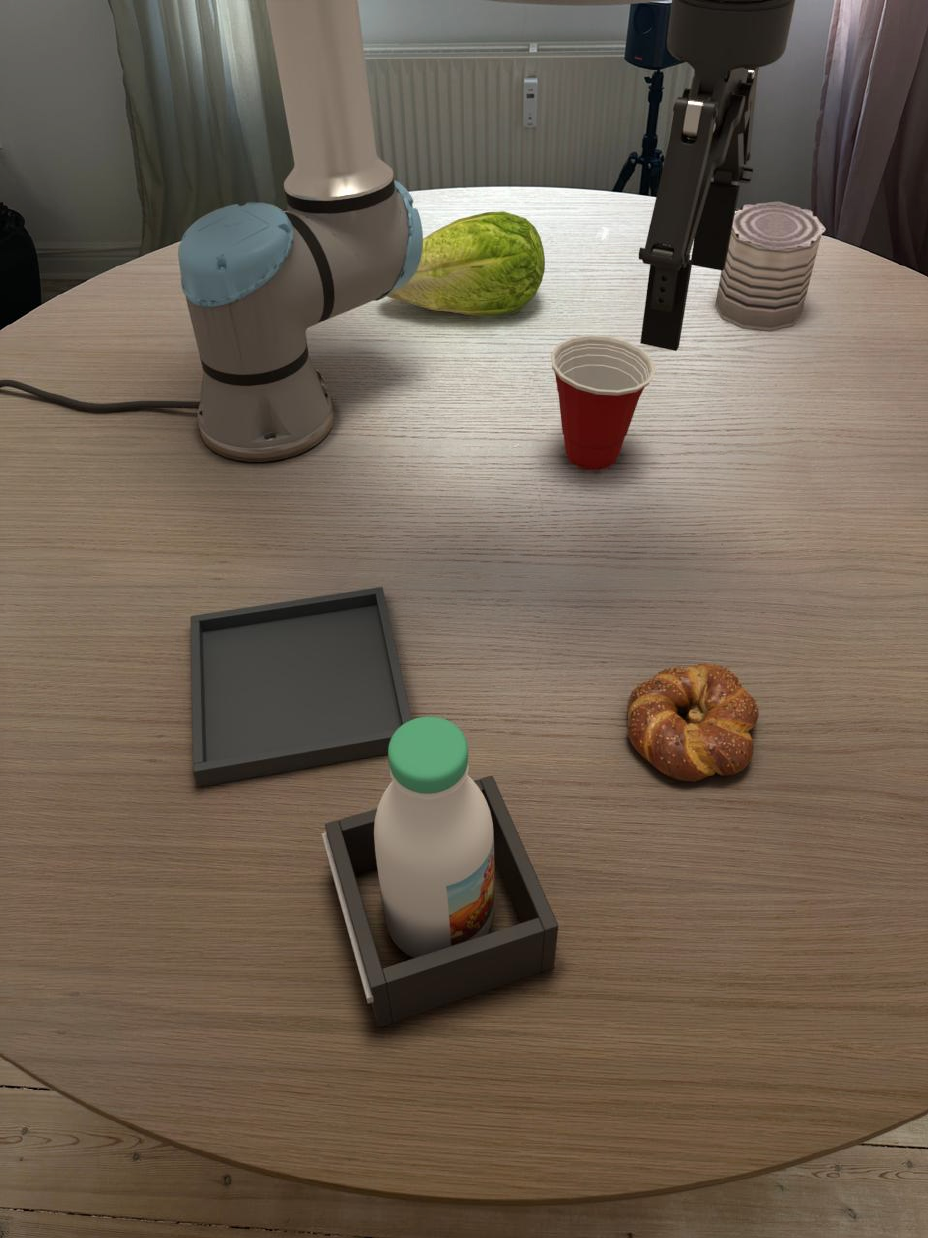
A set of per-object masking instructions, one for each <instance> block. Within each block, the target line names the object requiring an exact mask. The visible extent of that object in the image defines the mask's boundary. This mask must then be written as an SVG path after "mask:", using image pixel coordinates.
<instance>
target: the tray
mask: <svg viewBox="0 0 928 1238" xmlns="http://www.w3.org/2000/svg"><path fill="white" fill-rule="evenodd" d="M189 621H190V665H191V666H190V668H191V669H190V671H191V672H190V673H191V674H190V676H191V722H192V723H191V726H192V727H191V729H192V731H191V733H192V737H191V738H192V773H193V776H194V778H195V782H196V784H197V787H206V786H211V785H218V784H223V783H229V782H235V781H240V780H246V779H252V778H257V777H263V776H269V775H274V774H280V773H286V772H292V771H297V770H302V769H308V768H314V767H321V766H325V765H331V764H338V763H343V762H349V761H354V760H359V759H365V758H371V757H376V756H377V757H378V756H381V755H382V756H383V755H388V747H389V743H390V740H391V738H392V736H393V734H394V733H395V732H396V730H397V729H398V728H399V727H401V726H402V725H403V724H405V723H406V722H408V721H410V720H413V718H412V714H411V710H410V709H411V708H410V705H409V701H408V695H407V691H406V686H405V681H404V678H403V672H402V667H401V662H400V659H399V655H398V649H397V645H396V640H395V635H394V631H393V627H392V626H393V625H392V622H391V617H390V614H389V609H388V604H387V600H386V595H385V591H384V586H377V587H372V588H366V589H359V590H352V591H351V590H350V591H346V592H338V593H331V594H326V595H319V596H313V597H307V598H300V599H293V600H287V601H281V602H274V603H268V604H266V603H265V604H260V605H254V606H247V607H241V608H233V609H226V610H220V611H215V612H208V613H201V614H195V615H190V620H189Z"/></svg>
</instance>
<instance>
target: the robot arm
mask: <svg viewBox="0 0 928 1238" xmlns="http://www.w3.org/2000/svg"><path fill="white" fill-rule="evenodd" d="M795 3H796V0H671V4H670V5H671V6H670V13H669V20H668V29H667V38H666V47H667V50H668V52H669V54H670V55H671V56H672V57H673V58H675V59H676V60H677V61H680V62H682V63H683V62H685V63H686V64H689V65H690V66H691V67H692V69H693V71H694V73H693V74H694V75H693V77H692V79H691V80H692V81H691V84H690V85H691V86H690V88H684V90H683V93H682V95H681V96H678V97H676V100H675V102H674V104H673V107H672V112H673V114H672V121H671V127H670V133H669V140H668V143H667V148H666V153H665V157H664V161H663V165H662V171H661V175H660V179H659V184H658V188H657V191H656V192H657V193H656V198H655V202H654V205H653V209H652V210H653V211H652V214H651V219H650V223H649V229H648V232H647V237H646V240H645V246H644V247H639V249H638V250H639V251H638V260H640V261H642V264H644V265H649V269H648V270H649V271H648V278H647V280H648V281H647V287H646V294H645V303H644V304H645V305H644V311H643V319H642V326H641V335H640V343H639V344H641V345H645V346H650V347H655V348H658V349H659V348H660V349H664V350H669V351H673V352H677V351H678V349H679V347H680V342H681V337H682V330H683V324H684V317H685V310H686V304H687V298H688V292H689V286H690V280H691V274H692V267H693V266H694V267H700V268H707V269H712V270H716V271H721V270H722V271H723V270H724V268H725V265H726V259H727V254H728V248H729V243H730V237H731V232H732V226H733V221H734V216H735V213H736V210H737V204H738V198H739V193H740V187H741V185H738V184H735V182H736V183H742V184H747V185H749V184H751V181H752V179H753V174H754V167H749V166H747V165H748V163H749V161H750V160H751V157H752V153H751V149H752V138H753V127H754V117H755V116H754V115H755V106H756V105H755V104H756V97H757V96H756V95H757V83H758V75H759V70H760V69H759V68H763V67H766V66H769V65H772V64H774V63H775V62H777V61H779V59H780V58H782V57H783V55H784V54H785V52H786V47H787V43H788V39H789V34H790V29H791V23H792V19H793V13H794V10H795V9H794V8H795ZM265 4H266V9H267V14H268V15H267V16H268V20H269V25H270V26H269V27H270V33H271V38H272V43H273V49H274V54H275V60H276V66H277V73H278V77H279V78H278V79H279V83H280V88H281V94H282V100H283V105H284V112H285V118H286V123H287V128H288V134H289V140H290V145H291V151H292V157H293V162H294V166H293V169H291V172H290V173H289V174H288V176H287V177H286V179H285V180H284V182H283V188H284V189H283V190H284V194H285V201H286V206H287V210H286V211H285V210H283V209H282V208H279V207H278V206H276V205H274V204H270V203H265V202H246V203H245V204H243V205H239V203H235V204H231V205H230V204H229V205H227V206H224V207H220V208H217V209H215V210H213V211H211V212H208V213H207V214H205V215H203V216H202V217H200V218H199V219H197V220H196V221H194V223H192V224H191V225H190V226H189V227H188V228H187V229H186V231H185V232H184V233H183V235H182V238H181V241H180V243H179V245H178V251H177V257H178V265H179V272H180V285H181V290H182V292H183V295H184V296H185V301H186V305H187V308H188V313H189V317H190V321H191V325H192V328H193V335H194V338H195V342H196V346H197V350H198V354H199V358H200V364H201V368H202V380H201V387H200V401H197V400H195V401H194V400H192V401H191V400H190V401H189V400H135V401H134V400H133V401H123V402H109V403H108V402H107V403H94V402H86V401H81V400H77V399H73V398H70V397H67V396H65V395H60V394H57V393H52V392H50V391H49V392H48V391H47V390H44V389H43V390H42V389H40V388H37V387H34V386H32V385H29V384H26V383H24V382H21V381H19V380H13V379H0V389H1V388H5V387H7V388H12V389H13V388H14V389H17V390H20V391H23V392H26V393H28V394H30V395H33V396H36V397H38V398H41V399H45V400H48V401H51V402H57V403H59V404H63V405H66V406H70V407H72V408H76V409H80V410H84V411H85V410H87V411H94V412H109V411H123V410H133V409H185V410H186V409H188V410H189V409H191V410H197V423H198V427H199V431H200V436H201V437H202V438H201V439H202V441H203V442H204V444H205V445H206V446H207V447H208V449H210V450H211V451H213V452H214V453H216V454H218V455H220V456H222V457H223V458H224V457H225V458H227V459H231V460H235V461H240V462H248V463H249V462H251V463H262V462H264V463H265V462H273V461H280V460H283V459H288V458H292V457H295V456H297V455H299V454H302V453H305V452H306V451H309V450H310V449H312V448H313V447H315V446H317V445H318V444H319V443H320V442H321V441H323V440H324V439H325V438H326V436H328V434H329V433H330V431H331V429H332V428H333V425H334V419H335V417H334V410H333V409H334V408H333V402H332V398H331V396H330V393H329V392H328V390H327V389H326V387H325V386H324V385H323V383H325V380H324V379H323V376H322V375H321V373H320V371H318V369H316V367H315V365H314V363H313V362H312V360H311V357H310V353H309V346H308V338H307V329H308V328H311V327H314V326H316V325H318V324H319V323H322V322H324V321H327V320H329V319H333V318H335V317H337V316H340V315H343V314H344V313H347V312H349V311H351V310H355V309H356V308H359V307H361V306H364V305H366V304H369V303H371V302H376V301H377V302H378V301H380V300H382V299H384V298H385V297H386V296H387V295H389V294H390V293H391V292H392V291H395V290H397V289H399V288H401V287H403V286H404V285H405V284H407V283H408V282H409V280H410V279H411V278H412V277H413V276H414V274H415V273H416V271H417V269H418V266H419V263H420V260H421V256H422V248H423V238H424V235H423V225H422V220H421V216H420V213H419V210H418V208H415V207H414V206H413V204H414V198H413V197H412V195H411V194H410V192H409V191H408V189H407V188H406V187H405V186H404V185H403V184H402V183H400V182H399V181H398V180H395V175H394V171H393V169H392V168H391V167H390V166H389V165H388V164H387V163H386V162H385V161H383V160H382V159H381V158H379V156H378V154H377V146H376V138H375V131H374V130H375V129H374V121H373V114H372V105H371V98H370V90H369V89H370V88H369V82H368V73H367V65H366V56H365V47H364V39H363V31H362V24H361V16H360V15H361V14H360V7H359V6H360V5H359V0H265ZM386 298H387V297H386Z"/></svg>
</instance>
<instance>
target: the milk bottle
mask: <svg viewBox="0 0 928 1238" xmlns="http://www.w3.org/2000/svg"><path fill="white" fill-rule="evenodd" d="M387 759H388V765H389V775H390V777H391V780H392V781H391V782H390V783H389V784H388V786H387V788H386V789H385V791H384V792H383V794H382V795H381V797H380V800H379V803H378V805H377V808H376V809H377V812H376V816H375V825H374V840H375V853H376V861H377V867H376V868H377V875H378V882H379V890H380V895H381V896H380V897H381V902H382V910H383V914H384V920H385V924H386V929H387V931H388V934H389V936H390V938H391V940H392V942H394V944H395V945H396V946H397V947H398V949H400V950H401V951H402V952H403V953H404V954H406V955H407V956H408V957H411V959H413V958H417V957H420V956H423V955H426V954H429V953H432V952H435V951H438V950H441V949H444V948H447V947H450V946H453V945H456V944H459V943H462V942H465V941H468V940H471V939H475V938H478V937H481V936H484V935H487V934H490V931H491V928H492V925H493V921H494V908H495V859H494V835H493V822H492V817H491V813H490V809H489V806H488V804H487V801H486V799H485V797H484V795H483V793H482V792H481V790H480V789H479V787H478V786H477V785H476V783H475V782H474V780H473V779H472V778H471V777H470V776H469V775H468V774H469V769H470V767H469V765H470V764H469V745H468V740H467V738H466V736H465V734H464V732H463V731H462V730H461V728H459V727H458V726H457V725H456V724H455V723H453V722H452V721H450V720H448V719H445V718H442V717H438V716H421V717H416V718H412V720H410V721H408V722H406V723H405V724H403V725H402V726H401V727H399V728H398V729H397V730H396V732H395V733H394V734H393V736H392V738H391V740H390V743H389V747H388V754H387Z"/></svg>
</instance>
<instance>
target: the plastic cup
mask: <svg viewBox="0 0 928 1238" xmlns="http://www.w3.org/2000/svg"><path fill="white" fill-rule="evenodd" d="M550 360H551V362H550V363H551V369H552V371H553V373H554V376H555V383H556V391H557V394H558V395H557V396H558V405H559V415H560V422H561V423H560V424H561V433H562V436H563V443H564V453H565V455H566V459H567V460H568V462H569V463H570V464H571V465H573V466H575V467H576V468H578V469H583V470H587V471H601V470H605V469H608V468H610V467H611V466H614V465H615V464H616V462H617V460H618V458H619V456H620V454H621V451H622V447H623V445H624V442H625V439H626V437H627V435H628V432H629V429H630V427H631V424H632V421H633V417H634V414H635V411H636V408H637V405H638V403H639V400H640V397H641V396H642V393H643V391H644V390H645V388H646V387H647V386H649V385H650V383H651V382H652V380H653V378H654V376H655V374H656V372H657V369H656V366H655V361H654V359H653V358H652V357H651V356H650V355H649V354H648V352H646V350H644V349H643V348H641V347H640V346H637V345H635V344H634V343H631V342H630V341H628V340H625V339H621V338H617V337H614V336H610V335H597V334H584V335H578V336H573V337H569V338H567V339H565V340H563V341H561V342H559V343H557V344H556V345H555V347H554V348H553V350H552V351H551V353H550Z"/></svg>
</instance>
